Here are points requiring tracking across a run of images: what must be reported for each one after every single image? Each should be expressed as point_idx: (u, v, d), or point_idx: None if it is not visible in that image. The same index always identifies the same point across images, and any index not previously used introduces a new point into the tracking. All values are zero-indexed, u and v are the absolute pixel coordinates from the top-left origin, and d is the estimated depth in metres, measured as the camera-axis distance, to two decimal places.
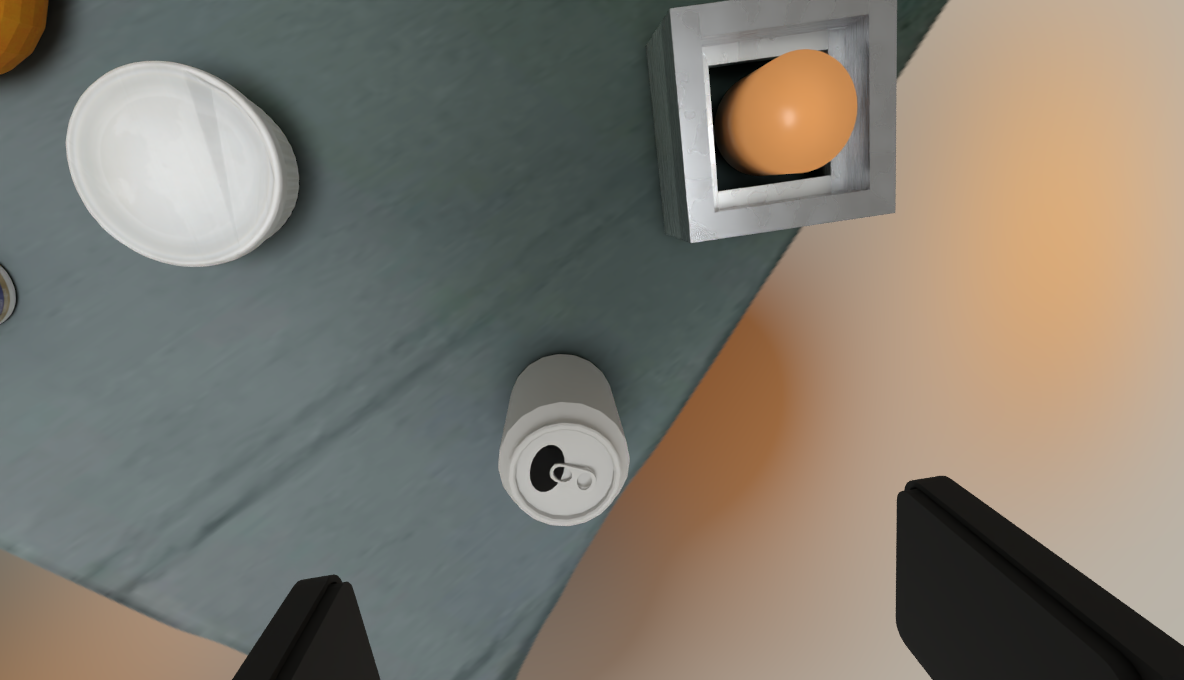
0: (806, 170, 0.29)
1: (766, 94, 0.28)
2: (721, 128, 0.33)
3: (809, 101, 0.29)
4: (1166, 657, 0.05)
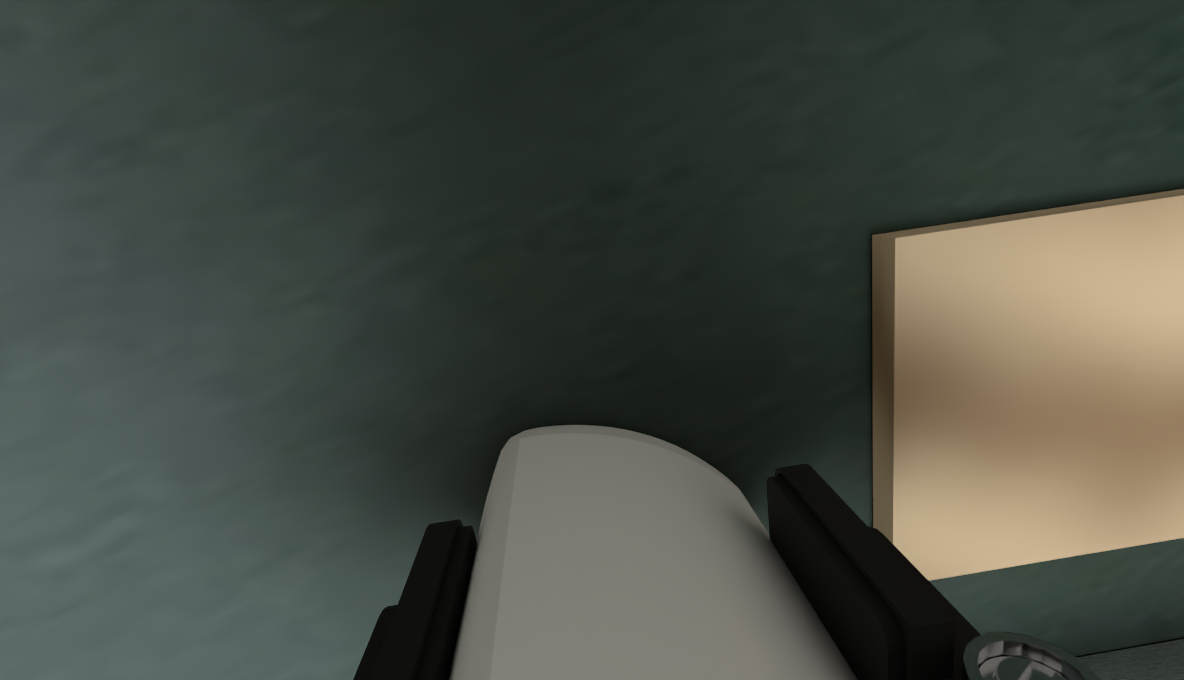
0: None
1: None
2: None
3: None
4: (920, 612, 0.06)
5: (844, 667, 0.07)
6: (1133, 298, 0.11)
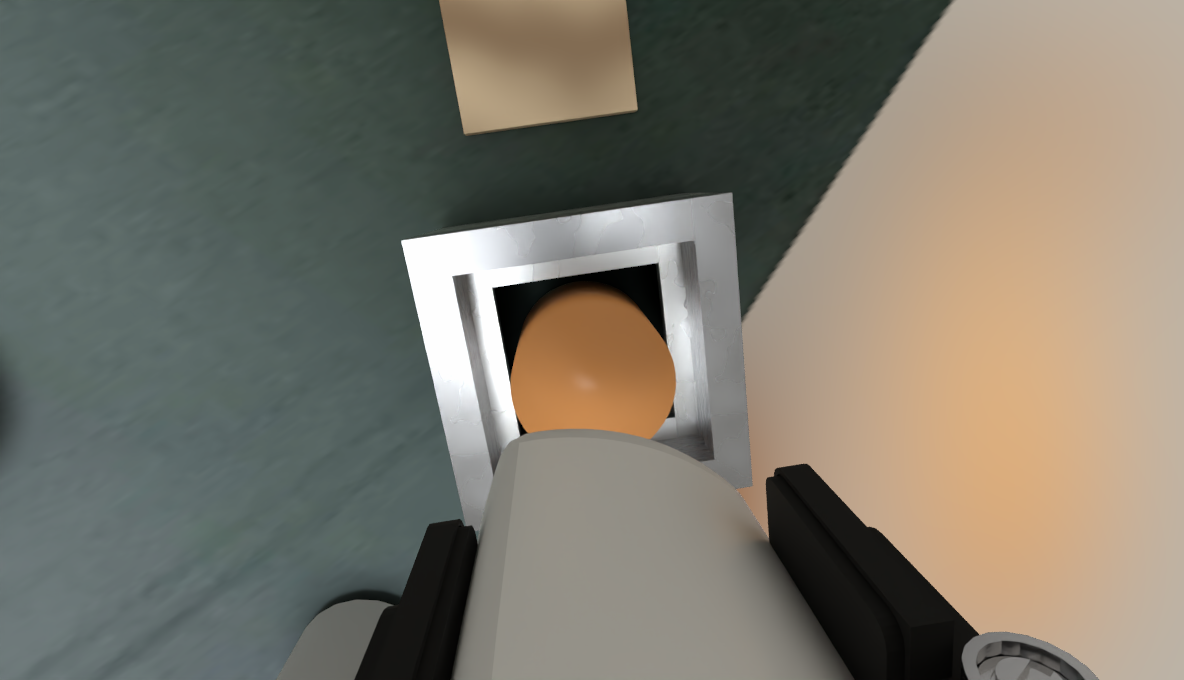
0: None
1: (541, 365, 0.20)
2: None
3: (604, 371, 0.20)
4: (919, 611, 0.06)
5: (845, 673, 0.07)
6: None
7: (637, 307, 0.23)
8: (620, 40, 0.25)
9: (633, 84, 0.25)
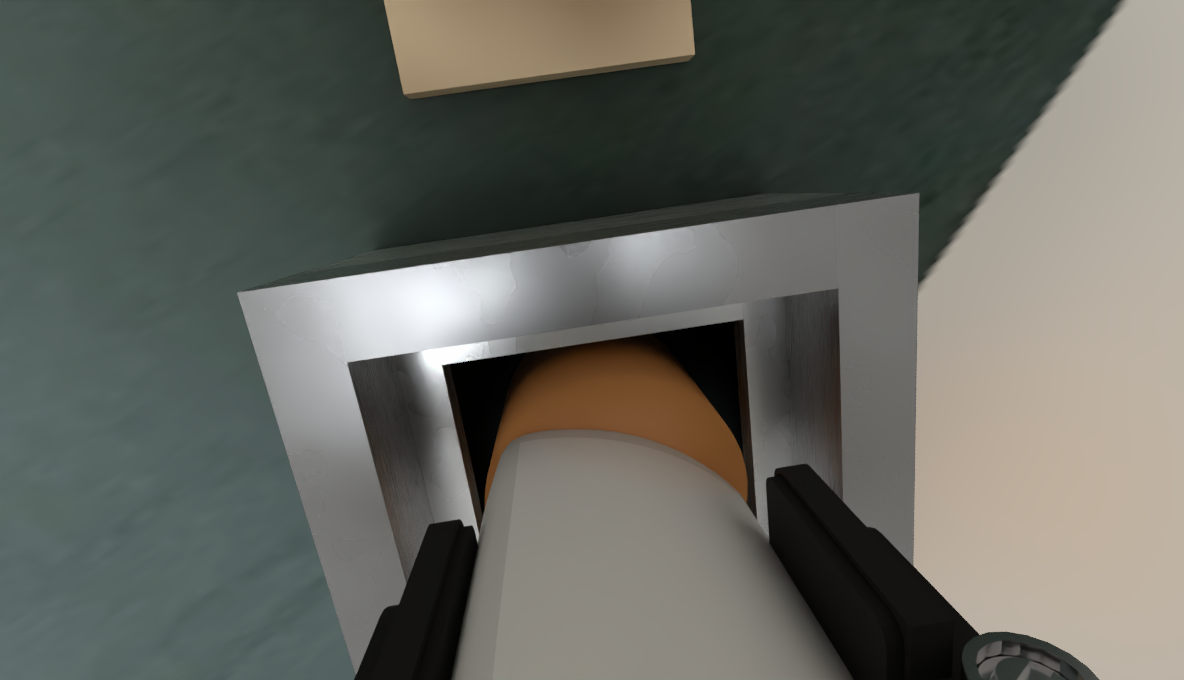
0: None
1: None
2: None
3: None
4: (919, 612, 0.06)
5: (845, 674, 0.07)
6: None
7: (678, 363, 0.15)
8: None
9: (689, 10, 0.15)
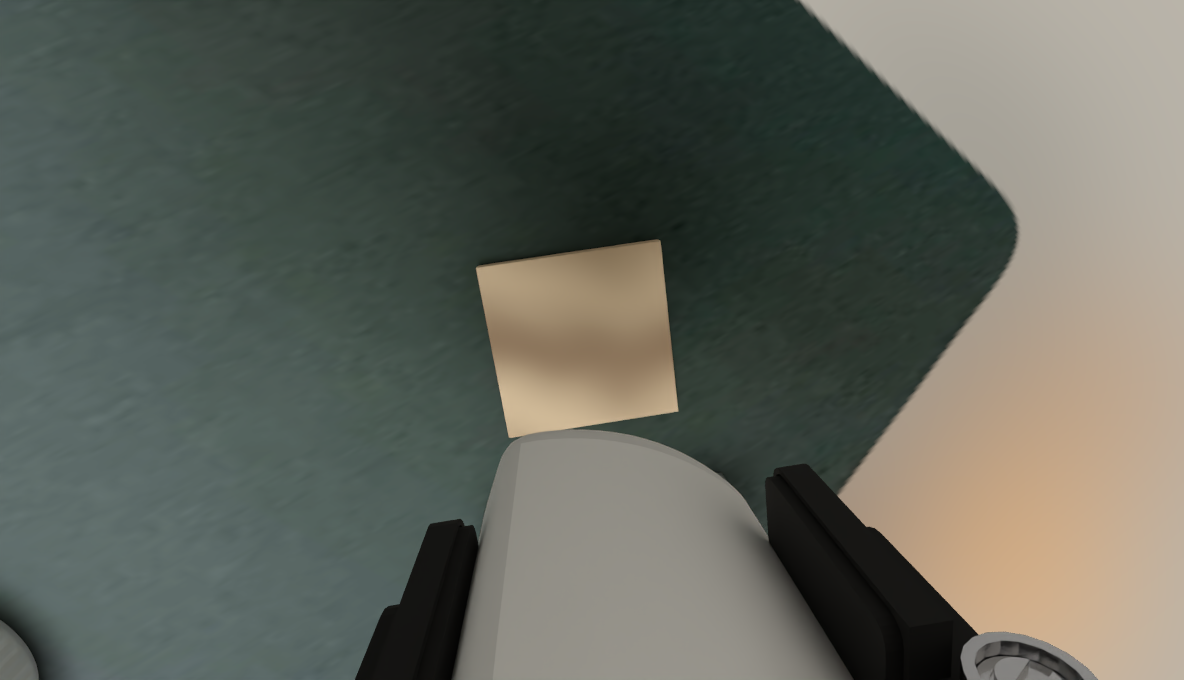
0: None
1: None
2: None
3: None
4: (918, 612, 0.06)
5: (847, 677, 0.07)
6: (598, 295, 0.24)
7: None
8: (662, 353, 0.25)
9: (674, 390, 0.26)
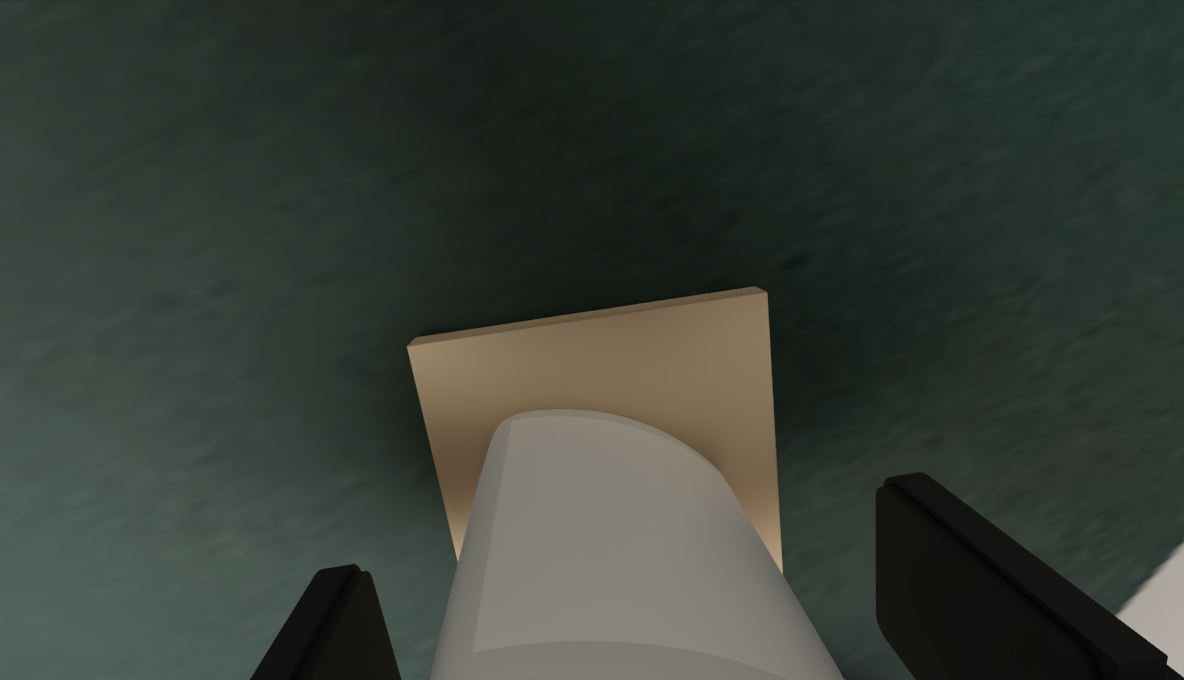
0: None
1: None
2: None
3: None
4: (1122, 645, 0.06)
5: (806, 627, 0.08)
6: (644, 394, 0.13)
7: None
8: (761, 496, 0.14)
9: (779, 559, 0.14)
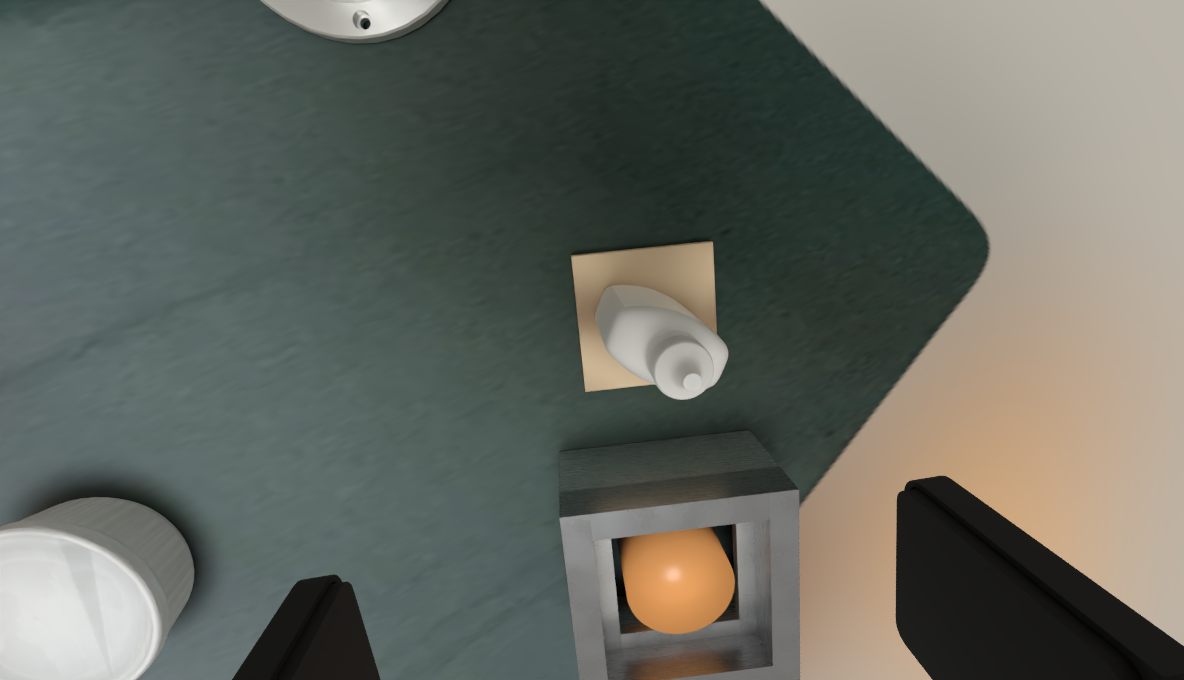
0: (687, 631, 0.31)
1: (647, 574, 0.30)
2: (618, 548, 0.34)
3: (688, 578, 0.30)
4: (1166, 657, 0.05)
5: None
6: (662, 281, 0.32)
7: None
8: None
9: None
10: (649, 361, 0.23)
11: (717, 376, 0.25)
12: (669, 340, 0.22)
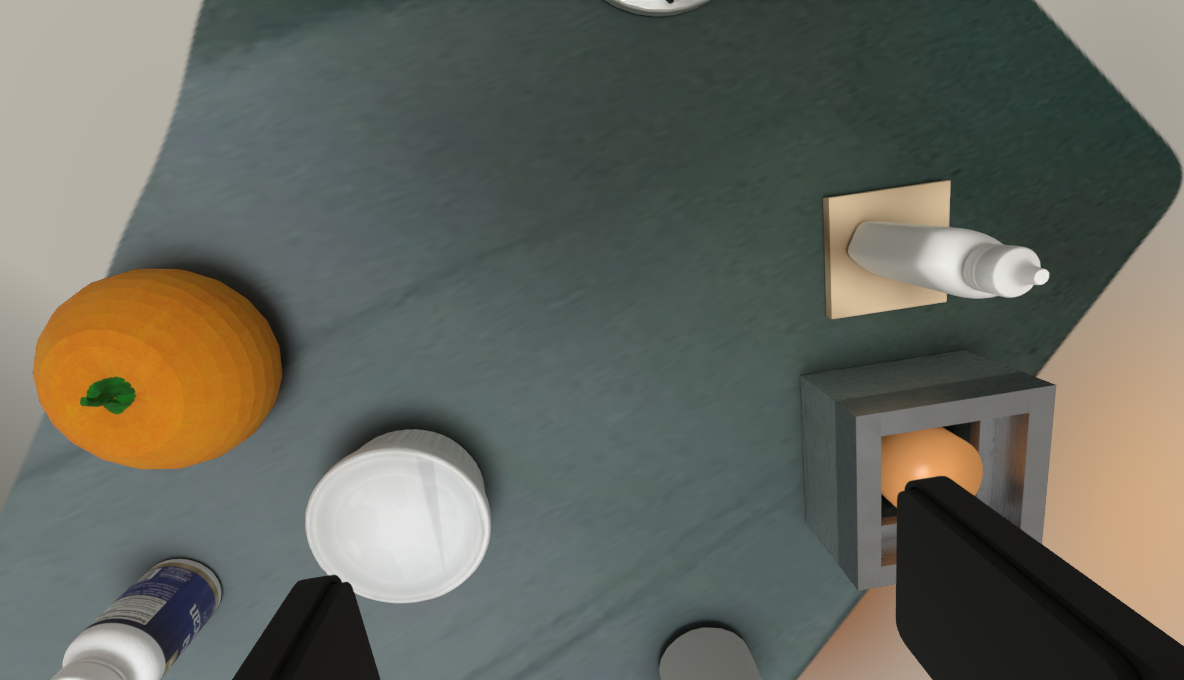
0: None
1: (910, 469, 0.35)
2: None
3: (944, 472, 0.35)
4: (1166, 657, 0.05)
5: None
6: (905, 217, 0.36)
7: None
8: None
9: None
10: (975, 268, 0.27)
11: None
12: (998, 248, 0.27)
